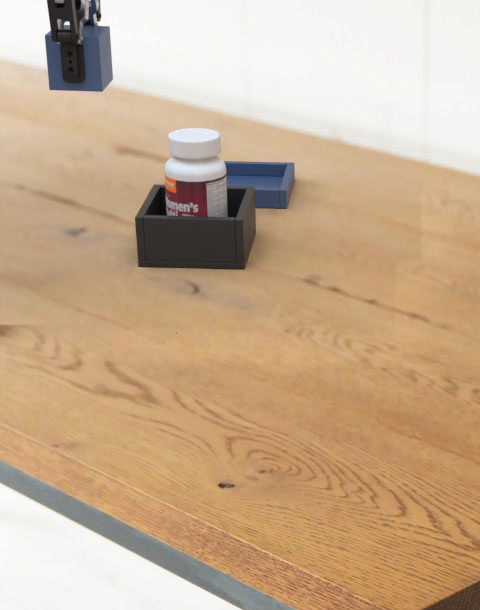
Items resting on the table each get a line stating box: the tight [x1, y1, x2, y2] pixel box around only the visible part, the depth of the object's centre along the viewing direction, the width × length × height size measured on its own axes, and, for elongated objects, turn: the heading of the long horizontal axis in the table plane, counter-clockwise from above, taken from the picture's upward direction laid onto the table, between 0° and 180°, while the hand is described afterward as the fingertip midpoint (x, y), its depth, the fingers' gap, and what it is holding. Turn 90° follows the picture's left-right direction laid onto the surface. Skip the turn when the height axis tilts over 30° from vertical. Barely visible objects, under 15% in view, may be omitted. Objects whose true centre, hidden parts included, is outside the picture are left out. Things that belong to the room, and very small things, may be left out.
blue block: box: [44, 24, 114, 93], centre depth 139 cm, size 6×6×6 cm
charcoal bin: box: [134, 184, 257, 270], centre depth 137 cm, size 11×11×5 cm
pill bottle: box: [164, 127, 228, 217], centre depth 135 cm, size 6×6×11 cm
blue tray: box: [223, 160, 296, 209], centre depth 154 cm, size 14×11×2 cm
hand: (80, 74), depth 140 cm, fingers closed on blue block, 5 cm apart
